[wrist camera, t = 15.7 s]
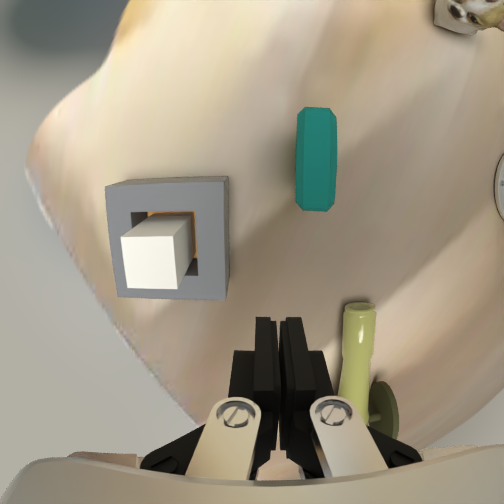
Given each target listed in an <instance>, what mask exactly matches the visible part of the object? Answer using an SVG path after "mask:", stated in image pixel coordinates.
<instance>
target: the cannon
mask: <svg viewBox="0 0 504 504" xmlns="http://www.w3.org/2000/svg"><path fill="white" fill-rule="evenodd" d="M375 325H376V312H375V305H373V304H371V303H366V302H355V303H349V304H347V305H345V311H344V313H343V338H342V356H343V364H342V371H341V378H340V384H339V390H338V397H343V398H345V399H348V400H349V401H351V402H352V403H353V404H354V405H355V407H356V408H357V410H358V412H359V413H360V415H361V417H362V419H363V421H364V423H365V425H367V426H368V423H369V426H370V427H371V428H373V429H375V430H377V431H379V432H381V433H383V434H385V435H387V436H389V437H391V438H393V439H397V436H398V431H399V414H398V407H397V403H396V399H395V396H394V394H393V392H392V390H391V388H390V386H389V385H388V384H387V383H386V382H384V381H379V382H375V383H374V384H373V385H372V386H371V388H370V392H369V386H370V363H371V357H372V355H373V349H374V338H375Z"/></svg>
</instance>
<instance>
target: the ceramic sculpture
mask: <svg viewBox="0 0 504 504" xmlns="http://www.w3.org/2000/svg"><path fill="white" fill-rule="evenodd" d="M434 24H435V25H437V26H441V27H444V28H446V29H449V30H452V31H455V32H458V33H463V34H469V35H474V34H476V32H477V31H478V30H484V29H486V28H491V27H496V28H498V29H500V30H501V31H504V0H436V3H435V17H434Z"/></svg>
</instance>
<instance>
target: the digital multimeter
mask: <svg viewBox="0 0 504 504" xmlns="http://www.w3.org/2000/svg"><path fill="white" fill-rule="evenodd" d="M336 173H337V121H336V116H335V115H334V114H333V112H332V111H331V110H330V108H317V107H305V108H304V109H303V110H302V111H300V112H299V113H298V117H297V139H296V203H297V204H298V205H299V206H300V208H301V209H302V210H306V211H324V212H327V211H328V210H329V209H330V207H331V206H332V205H333V204H334V200H335V188H336Z"/></svg>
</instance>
